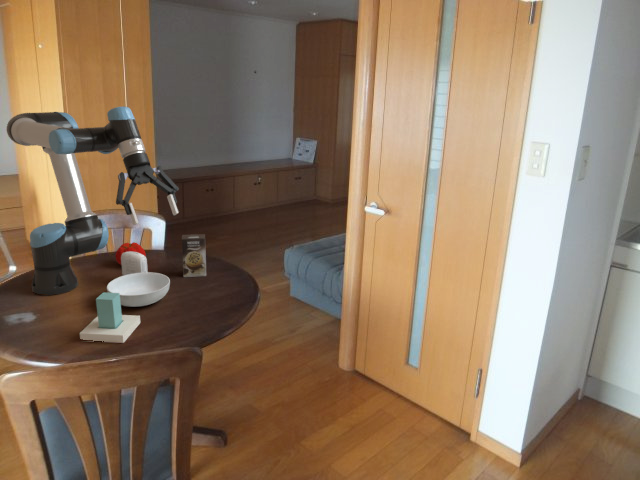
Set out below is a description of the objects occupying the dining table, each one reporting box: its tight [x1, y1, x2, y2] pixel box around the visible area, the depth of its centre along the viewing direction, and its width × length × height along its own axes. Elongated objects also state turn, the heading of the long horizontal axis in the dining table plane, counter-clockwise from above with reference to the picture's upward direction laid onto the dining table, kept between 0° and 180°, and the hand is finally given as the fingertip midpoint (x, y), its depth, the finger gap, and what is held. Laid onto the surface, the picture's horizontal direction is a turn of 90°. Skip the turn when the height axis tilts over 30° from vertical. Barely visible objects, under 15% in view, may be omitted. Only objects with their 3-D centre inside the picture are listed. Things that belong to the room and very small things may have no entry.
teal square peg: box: [95, 292, 123, 329], centre depth 151 cm, size 5×5×12 cm
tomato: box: [115, 242, 147, 266], centre depth 206 cm, size 11×12×9 cm
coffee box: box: [181, 233, 207, 278], centre depth 198 cm, size 9×6×16 cm
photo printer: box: [120, 251, 149, 276], centre depth 188 cm, size 10×4×12 cm, turn 69°
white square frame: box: [79, 314, 141, 344], centre depth 152 cm, size 13×13×2 cm
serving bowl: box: [106, 271, 171, 308], centre depth 174 cm, size 21×21×7 cm
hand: (156, 219), depth 156 cm, fingers open, 13 cm apart
